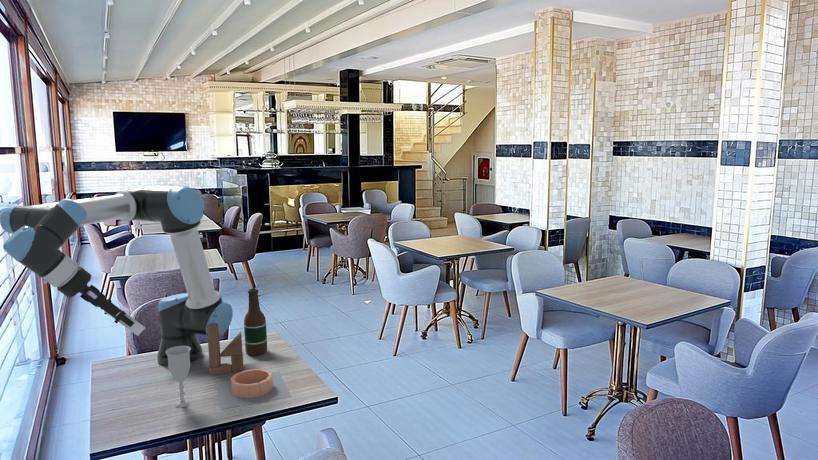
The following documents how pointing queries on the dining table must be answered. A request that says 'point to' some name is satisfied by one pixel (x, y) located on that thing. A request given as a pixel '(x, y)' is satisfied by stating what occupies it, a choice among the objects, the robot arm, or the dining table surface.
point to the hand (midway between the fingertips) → (133, 326)
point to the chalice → (179, 368)
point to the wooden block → (223, 352)
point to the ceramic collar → (254, 389)
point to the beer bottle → (255, 327)
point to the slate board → (232, 401)
